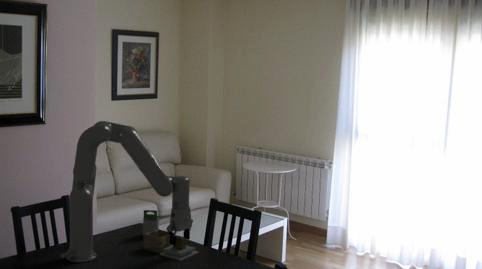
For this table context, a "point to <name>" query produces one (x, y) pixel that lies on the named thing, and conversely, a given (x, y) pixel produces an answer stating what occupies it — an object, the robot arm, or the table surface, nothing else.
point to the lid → (179, 247)
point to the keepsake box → (156, 241)
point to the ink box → (150, 221)
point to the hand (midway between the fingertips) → (179, 241)
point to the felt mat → (178, 256)
